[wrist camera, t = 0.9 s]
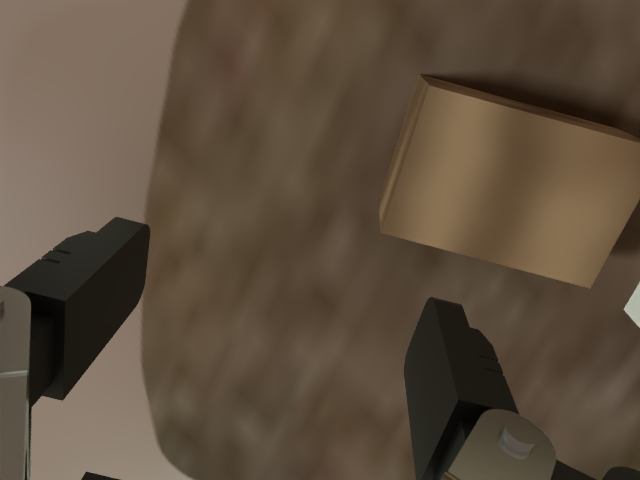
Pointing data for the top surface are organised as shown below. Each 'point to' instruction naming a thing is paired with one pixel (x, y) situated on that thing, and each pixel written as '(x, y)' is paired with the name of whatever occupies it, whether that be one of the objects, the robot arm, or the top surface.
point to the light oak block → (509, 182)
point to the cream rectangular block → (634, 306)
